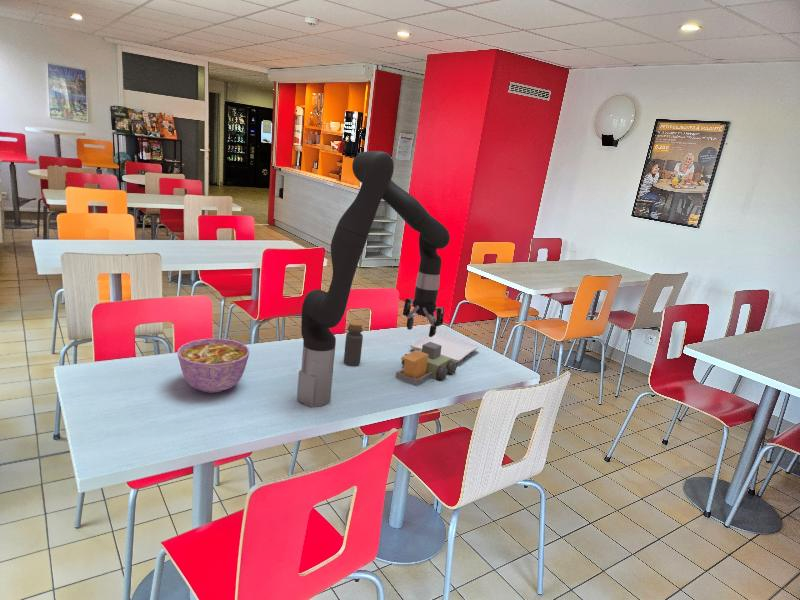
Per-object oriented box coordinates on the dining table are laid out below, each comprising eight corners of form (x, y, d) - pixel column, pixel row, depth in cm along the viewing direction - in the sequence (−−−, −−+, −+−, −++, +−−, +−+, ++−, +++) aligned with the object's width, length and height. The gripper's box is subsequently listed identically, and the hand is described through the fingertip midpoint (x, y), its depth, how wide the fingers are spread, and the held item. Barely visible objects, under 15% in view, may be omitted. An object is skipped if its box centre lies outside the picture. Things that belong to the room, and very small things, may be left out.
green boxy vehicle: (426, 389, 174) (430, 364, 172) (386, 374, 182) (389, 349, 180) (455, 372, 191) (459, 349, 189) (417, 358, 199) (420, 336, 197)
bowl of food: (239, 369, 172) (240, 336, 169) (255, 397, 155) (257, 360, 152) (172, 376, 162) (172, 340, 159) (182, 406, 145) (182, 367, 142)
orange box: (411, 383, 176) (414, 361, 174) (398, 379, 179) (401, 356, 177) (425, 375, 184) (428, 354, 182) (413, 371, 187) (416, 350, 184)
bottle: (352, 367, 184) (356, 326, 180) (340, 362, 188) (343, 322, 183) (363, 363, 189) (367, 323, 185) (351, 358, 192) (355, 319, 188)
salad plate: (457, 368, 196) (459, 359, 195) (407, 352, 206) (408, 343, 205) (478, 353, 214) (480, 345, 213) (431, 338, 224) (433, 331, 223)
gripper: (402, 282, 174) (396, 329, 178) (440, 292, 167) (432, 341, 171) (415, 279, 180) (408, 324, 185) (451, 289, 173) (444, 336, 177)
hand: (420, 332), depth 178 cm, fingers open, 8 cm apart
